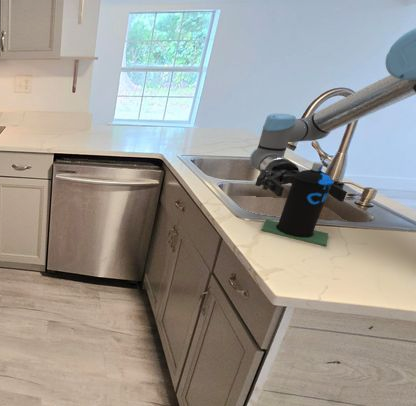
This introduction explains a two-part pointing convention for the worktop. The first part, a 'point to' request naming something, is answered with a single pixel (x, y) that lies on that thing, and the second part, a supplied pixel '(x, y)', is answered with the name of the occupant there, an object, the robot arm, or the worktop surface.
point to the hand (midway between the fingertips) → (311, 194)
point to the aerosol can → (305, 202)
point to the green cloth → (317, 238)
